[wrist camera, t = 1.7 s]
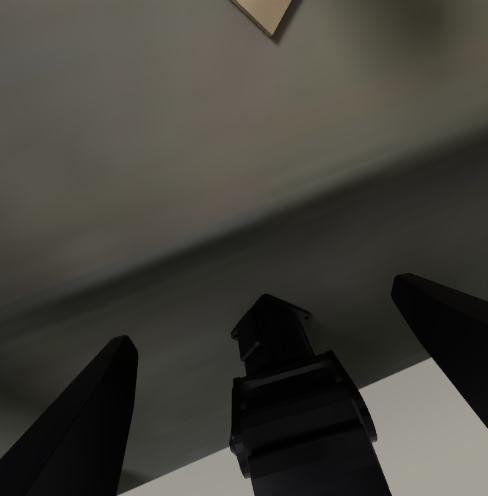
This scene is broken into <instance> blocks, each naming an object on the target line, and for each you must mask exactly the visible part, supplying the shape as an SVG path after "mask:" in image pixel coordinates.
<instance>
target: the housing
mask: <svg viewBox="0 0 488 496" xmlns="http://www.w3.org/2000/svg"><path fill="white" fill-rule="evenodd" d="M231 1H232V2H234V3H235V4H236V5H237V6H238V7H239V8H240V9H241V10H242V11H243V12H244V13H245V14H246V15H247V16H248V17H249V18H250V19H251V20H253V21H254V22H255V23H256V24H257V25H258V26H259V27H260V28H261V29H262V30H263V31H264V32H265V33H266V34H267V35H268V36H269V37H271V36H272V35H273V33H274V31H275V29H276V28H277V26H278V24H279V22H280V20H281V18H282V17H283V15H284V13H285V11H286V9H287V7H288V6H289V4H290V2H291V0H231Z"/></svg>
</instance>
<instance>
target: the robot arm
mask: <svg viewBox="0 0 488 496" xmlns="http://www.w3.org/2000/svg"><path fill="white" fill-rule="evenodd" d="M391 297H392V300H393V301H394V303H395V305H396V306H397V308H398V309H399V311H400V312H401V314H402V316H403V317H404V319H405V320H406V322H407V323H408V325H409V326H410V328H411V330H412V331H413V333H414V334H415V336H416V337H417V339H418V340H419V341H420V343H421V344H422V345H423V347H424V348H425V349H426V351H427V352H428V353H429V354H430V356H431V357H432V358H433V359H434V361H435V362H436V363H437V365H438V366H439V367H440V368H441V369H442V371H443V372H444V373H445V375H446V376H447V377H448V378H449V380H450V381H451V382H452V384H453V385H454V386H455V387H456V389H457V390H458V391H459V392H460V394H461V395H462V396H463V398H464V399H465V400H466V402H467V403H468V404H469V405H470V407H471V408H472V409H473V410H474V412H475V413H476V414H477V415H478V417H479V418H480V419H481V421H482V422H483V423H484V424H485V426H486V427H487V428H488V301H485V300H482V299H480V298H477V297H474V296H471V295H469V294H466V293H463V292H460V291H458V290H455V289H452V288H449V287H447V286H444V285H441V284H438V283H436V282H433V281H430V280H427V279H425V278H422V277H419V276H416V275H414V274H411V273H405V274H400V275H397V276H396V277H395V278H394V282H393V287H392V291H391ZM264 299H266V300H264ZM310 319H311V315H310V313H309V312H307V311H304V310H302V309H300V308H298V307H295V306H293V305H291V304H288V303H286V302H284V301H281V300H279V299H277V298H274V297H272V296H270V295H267V294H264V295H262V296H261V297H260V298H259V299H258V300H257V301H256V303H255V304H254V305H253V306H252V308H251V309H250V310H248V312H247V313H246V314H245V315H244V316H243V318H242V319H241V320H240V321H239V323H238V324H237V325H236V327H235V328H234V329H233V331H232V332H231V338H232V339H234V340H237V341H238V344H239V351H240V358H241V361H242V362H244V363H245V370H246V376H245V377H242V378H240V377H237V378H234V379H233V388H232V427H231V434H230V441H229V445H230V450H231V452H232V453H234V454H235V455H236V456H237V459H238V462H239V465H240V469H241V472H242V474H243V476H244V478H246V479H247V478H251V481H252V486H253V490H254V495H255V496H392V495H391V492H390V490H389V487H388V484H387V481H386V479H385V476H384V474H383V471H382V468H381V466H380V463H379V461H378V458H377V455H376V453H375V450H374V448H373V445H372V443H373V442H376V441H377V434H376V430H375V426H374V424H373V421H372V418H371V415H370V413H369V411H368V408H367V406H366V404H365V402H364V400H363V398H362V396H361V394H360V392H359V391H358V389H357V387H356V386H355V384H354V383H353V381H352V380H351V378H350V377H349V375H348V374H347V372H346V371H345V369H344V368H343V366H342V365H341V363H340V362H339V360H338V359H337V357H336V356H335V354H334V353H333V351H332V350H329V351H326V352H325V353H323V354H320V355H317V356H315V354H314V352H313V349H312V347H311V345H310V343H309V340H308V338H307V336H306V334H305V331H304V329H303V326H304V325H305V324H306V323H307V322H308V321H309V320H310ZM137 368H138V351H137V349H136V347H135V346H134V344H133V342H132V341H131V339H130V338H129V336H127V335H122V336H118V337H114V338H113V339H111V340H110V341H109V343H108V344H107V345H106V346H105V347H104V348H103V349H102V350H101V351H100V352H99V353H98V354H97V355H96V357H95V358H94V359H93V360H92V361H91V362H90V363H89V364H88V365H87V366H86V367H85V368H84V369H83V371H82V372H81V373H80V374H79V375H78V376H77V377H76V378H75V379H74V380H73V381H72V382H71V384H70V385H69V386H68V387H67V388H66V389H65V390H64V391H63V392H62V393H61V394H60V395H59V396H58V398H57V399H56V400H55V401H54V402H53V403H52V404H51V405H50V406H49V407H48V408H47V409H46V410H45V412H44V413H43V414H42V415H41V416H40V417H39V418H38V419H37V420H36V421H35V422H34V423H33V424H32V426H31V427H30V428H29V429H28V430H27V431H26V432H25V433H24V434H23V435H22V436H21V437H20V439H19V440H18V441H17V442H16V443H15V444H14V445H13V446H12V447H11V448H10V449H9V450H8V451H7V453H6V454H5V455H4V456H3V457H2V458H1V459H0V496H117V491H118V485H119V480H120V475H121V470H122V465H123V460H124V455H125V450H126V445H127V439H128V434H129V429H130V424H131V419H132V414H133V408H134V400H135V390H136V379H137Z"/></svg>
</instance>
